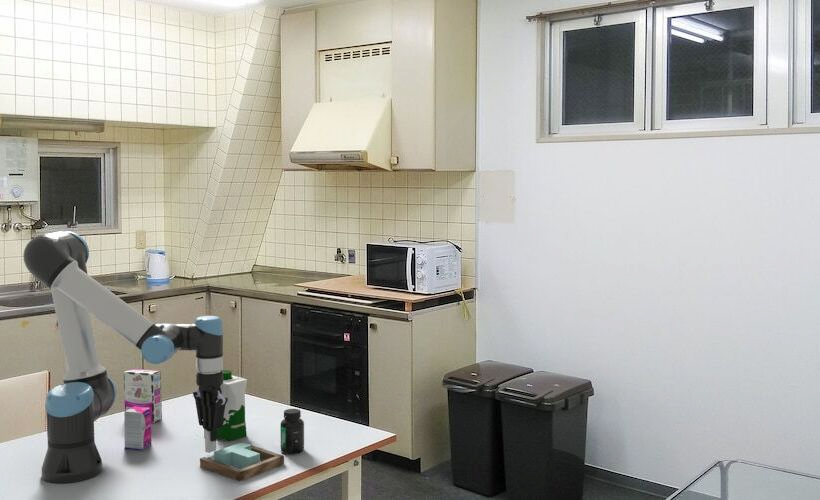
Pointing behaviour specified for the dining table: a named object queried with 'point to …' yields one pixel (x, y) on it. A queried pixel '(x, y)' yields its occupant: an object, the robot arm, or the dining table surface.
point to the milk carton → (233, 407)
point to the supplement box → (137, 428)
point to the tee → (237, 456)
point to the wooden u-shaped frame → (231, 472)
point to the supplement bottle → (292, 432)
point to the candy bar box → (143, 391)
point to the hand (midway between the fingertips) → (210, 451)
